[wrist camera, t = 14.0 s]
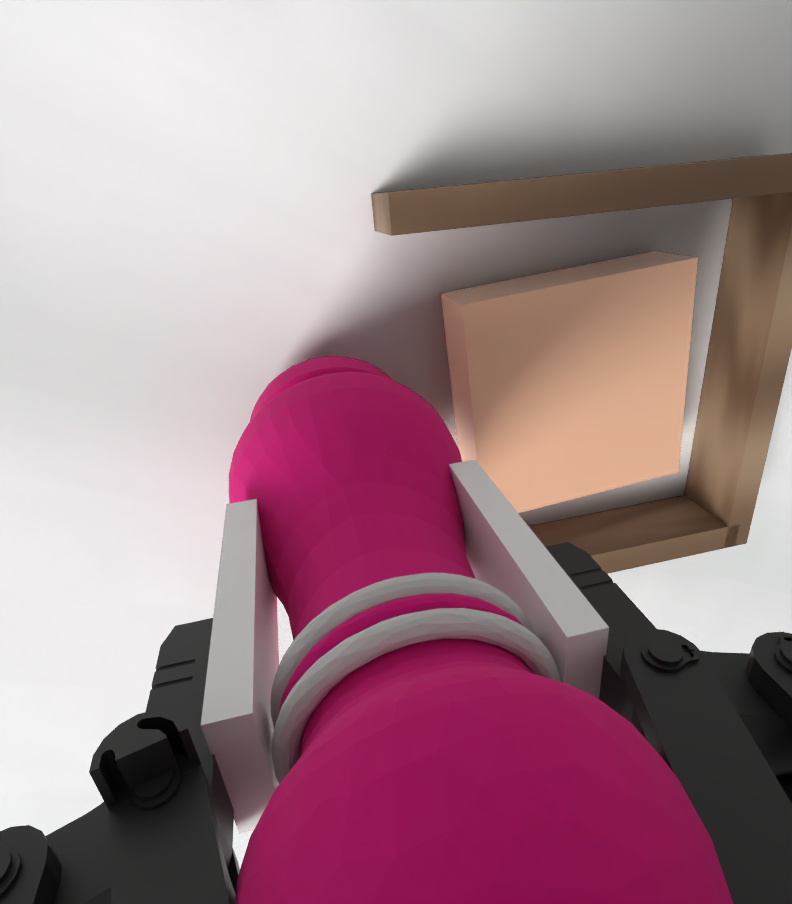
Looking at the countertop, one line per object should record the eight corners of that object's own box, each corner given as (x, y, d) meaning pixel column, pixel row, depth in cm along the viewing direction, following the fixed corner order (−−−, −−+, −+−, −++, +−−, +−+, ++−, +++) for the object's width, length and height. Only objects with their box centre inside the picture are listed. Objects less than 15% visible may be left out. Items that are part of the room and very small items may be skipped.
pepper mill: (364, 541, 23) (691, 1616, 6) (200, 473, 21) (-185, 2212, 3) (457, 398, 22) (1368, 1304, 4) (293, 303, 19) (854, 2040, 1)
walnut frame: (371, 193, 19) (387, 192, 16) (766, 155, 22) (837, 149, 19) (407, 571, 26) (423, 613, 24) (701, 511, 29) (746, 543, 26)
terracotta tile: (437, 291, 21) (461, 305, 19) (647, 250, 23) (698, 257, 20) (460, 488, 25) (482, 522, 23) (637, 444, 27) (678, 472, 24)
